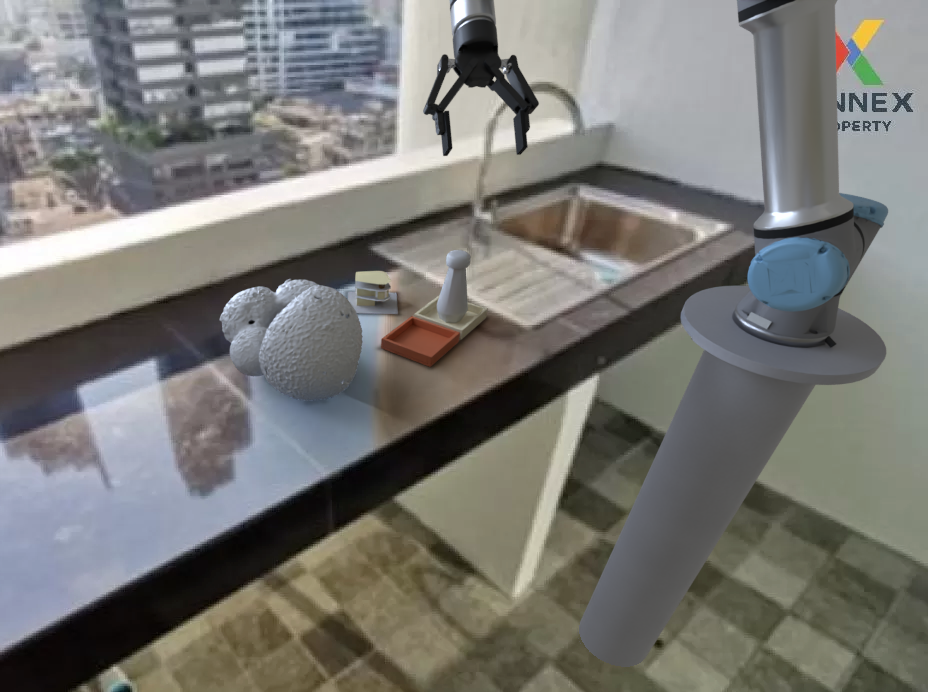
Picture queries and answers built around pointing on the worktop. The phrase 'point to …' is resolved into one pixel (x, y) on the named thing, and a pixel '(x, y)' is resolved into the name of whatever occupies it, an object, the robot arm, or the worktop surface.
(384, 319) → the worktop surface
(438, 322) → the ivory tray
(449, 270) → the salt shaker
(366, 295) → the stacked layers on plate
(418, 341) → the terracotta tray
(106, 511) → the worktop surface
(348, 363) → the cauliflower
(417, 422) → the worktop surface
